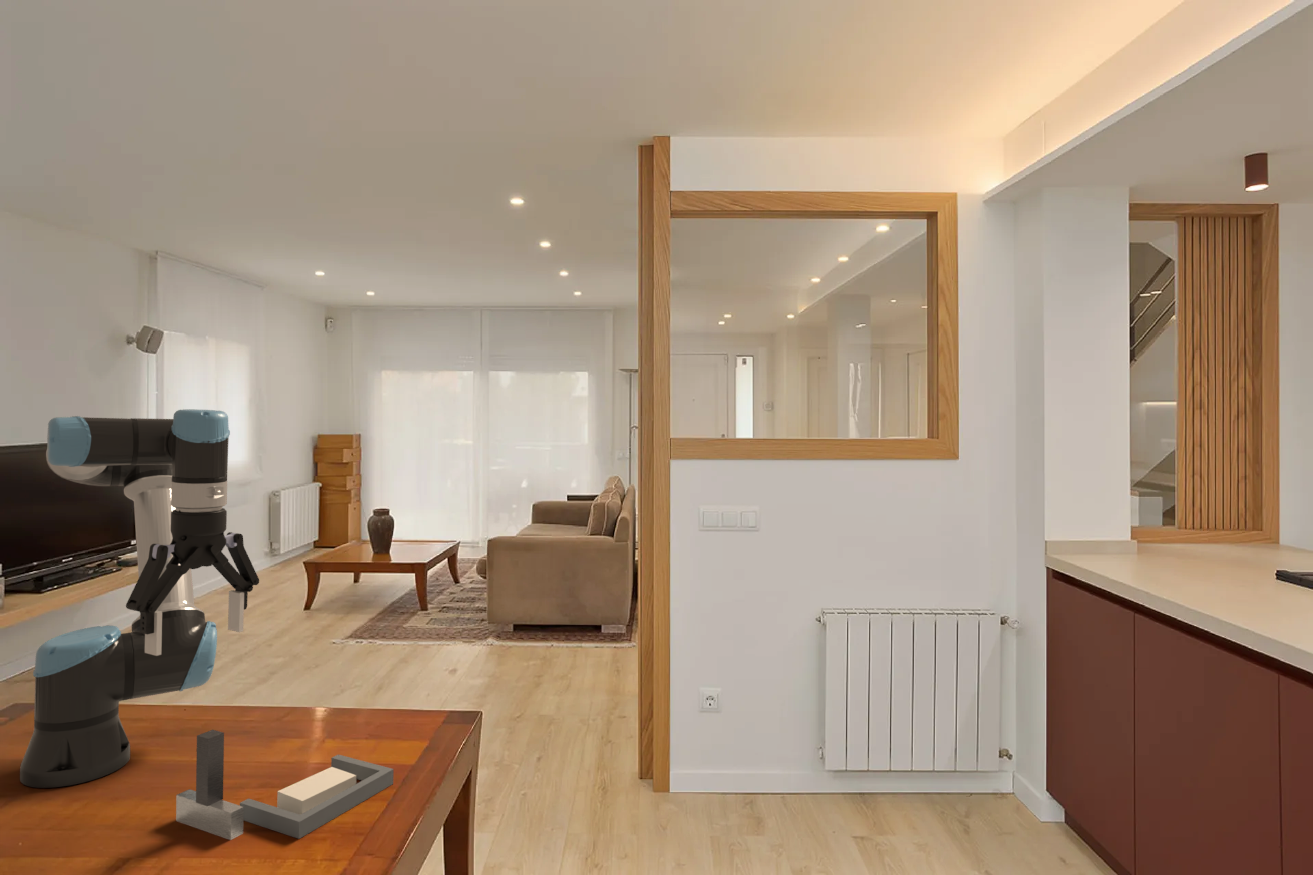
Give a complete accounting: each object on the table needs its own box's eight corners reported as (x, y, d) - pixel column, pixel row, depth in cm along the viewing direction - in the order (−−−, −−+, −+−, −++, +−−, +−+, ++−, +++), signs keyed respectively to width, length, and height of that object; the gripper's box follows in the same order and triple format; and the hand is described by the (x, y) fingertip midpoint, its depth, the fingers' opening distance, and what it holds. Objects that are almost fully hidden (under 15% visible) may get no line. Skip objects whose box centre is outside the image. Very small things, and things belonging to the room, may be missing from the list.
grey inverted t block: (174, 821, 114) (175, 729, 114) (190, 814, 117) (191, 723, 116) (229, 841, 110) (230, 744, 109) (244, 832, 112) (246, 738, 112)
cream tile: (277, 810, 119) (277, 791, 119) (331, 784, 128) (331, 766, 128) (302, 820, 116) (302, 800, 116) (356, 793, 125) (356, 775, 125)
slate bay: (239, 818, 116) (239, 802, 116) (338, 768, 133) (338, 754, 133) (299, 838, 110) (299, 821, 110) (393, 783, 128) (393, 768, 128)
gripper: (132, 520, 106) (129, 669, 107) (284, 502, 129) (280, 625, 130) (99, 514, 109) (96, 659, 110) (253, 498, 132) (250, 618, 133)
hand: (196, 641), depth 120 cm, fingers open, 13 cm apart
